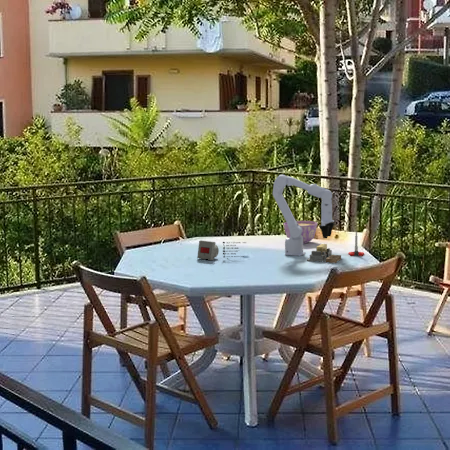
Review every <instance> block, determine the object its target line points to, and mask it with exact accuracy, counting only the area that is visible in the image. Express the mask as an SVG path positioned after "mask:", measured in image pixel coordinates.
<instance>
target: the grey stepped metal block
mask: <svg viewBox="0 0 450 450" xmlns="http://www.w3.org/2000/svg"><path fill="white" fill-rule="evenodd" d="M310 252H311V254H309V258H307V259H306V261H307V262H315V261H319V262H318V263H327V262H326V258H328V257H329V256H331V255H334V254H333V253H332V252H333V251H332V249H331V248H329V247H327V251H323V252H322V253H321V251H317V247H316V250H312V251H310ZM320 261H321V262H320ZM322 261H323V262H322Z"/></svg>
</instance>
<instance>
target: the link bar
mask: <svg viewBox="0 0 450 450" xmlns="http://www.w3.org/2000/svg"><path fill="white" fill-rule="evenodd" d="M316 248H317V251H321V253H322V252H323V251H327V249H328V243H320V244H319V245H316Z"/></svg>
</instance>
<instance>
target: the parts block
mask: <svg viewBox="0 0 450 450" xmlns="http://www.w3.org/2000/svg"><path fill="white" fill-rule="evenodd" d="M340 260H342V254H333V255H331V256H329V257H328V258H326V262H325V263H327V262H329V264H331V263H332V264H337V263H338V262H339V261H340ZM337 261H338V262H337Z"/></svg>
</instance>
